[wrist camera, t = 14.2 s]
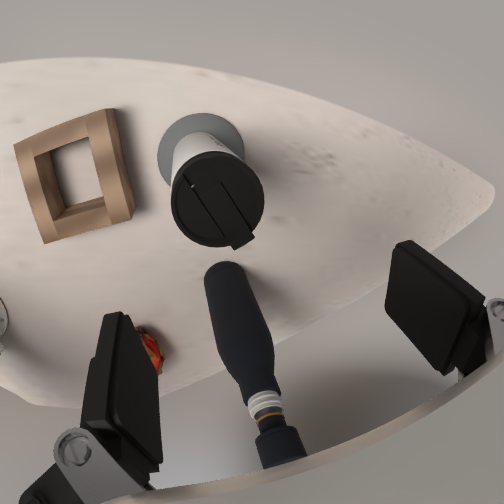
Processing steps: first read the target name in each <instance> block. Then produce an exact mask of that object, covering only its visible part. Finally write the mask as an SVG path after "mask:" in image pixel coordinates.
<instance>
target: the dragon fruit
mask: <svg viewBox="0 0 504 504" xmlns="http://www.w3.org/2000/svg"><path fill="white" fill-rule="evenodd" d="M135 329H136V331H137V333H138V335H139V337H140V339H141V341H142V343H143V345H144V347H145V349H146V351H147V353H148V355H149V357H150V359H151V361H152V363H153V365H154V367H155V369H156V371H157V375H160V374H162V365H163V362H164V359H165V356H164V354H163V353H162V351H161V349H160V347H159V346H158V343H157V341H156V340H154V339H153V338H152V337H151V336H150V335H149V333H148V332H147V331H146V330H144V329H143V330H144V333H142V332H140V331H139V329H138V328H135Z"/></svg>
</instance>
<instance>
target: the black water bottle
mask: <svg viewBox="0 0 504 504" xmlns="http://www.w3.org/2000/svg"><path fill="white" fill-rule="evenodd" d="M204 286H205V291H206V296H207V302H208V307H209V312H210V316H211V321H212V326H213V331H214V336H215V340H216V345H217V349H218V352H219V355H220V357H221V359H222V361H223V363H224V365H225V366H226V368H227V370H228V372H229V373H230V374H231V375H232V377H233V378H234V379H235V380H236V382H237V383H238V384H239V387H240V390H241V393H242V397H243V401H244V403H245V405H246V406H247V407H248V409H249V411H250V415H251V417H253V419H254V420H255V421H257V422H256V424H257V426H258V427H259V431H260V433H261V434H260V435H259V436H258V437H257V438H256V441H255V443H256V446H257V450H258V453H259V456H260V460H261V463H262V466H263V469H268V468H272V467H275V466H279V465H282V464H285V463H289V462H292V461H295V460H298V459H301V458H304V457H307V453H306V451H305V448H304V446H303V444H302V441H301V439H300V437H299V434H298V432H297V429H296V428H294V427H293V426H287V425H286V422H285V420H284V418H285V417H284V415H283V414H282V413H283V410H284V409H283V406H284V405H283V403H282V402H281V397H280V396H281V391H280V388H279V386H278V383H277V381H276V378H275V376H274V357H275V355H274V347H273V341H272V337H271V334H270V331H269V329H268V327H267V324H266V322H265V320H264V317H263V315H262V313H261V310H260V308H259V306H258V303H257V301H256V299H255V296H254V294H253V291H252V289H251V287H250V284H249V282H248V280H247V277H246V275H245V273H244V270H243V269H242V268H241V267H240V266H239V265H238V264H236V263H234V262H229V261H225V262H219V263H217V264H214V265H213V266H212V267H210V268H209V269H208V271H207V272H206V274H205V277H204Z"/></svg>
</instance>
